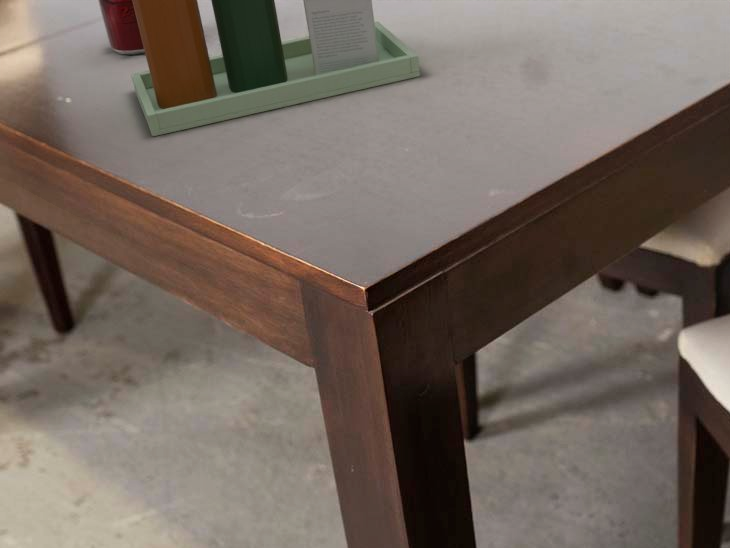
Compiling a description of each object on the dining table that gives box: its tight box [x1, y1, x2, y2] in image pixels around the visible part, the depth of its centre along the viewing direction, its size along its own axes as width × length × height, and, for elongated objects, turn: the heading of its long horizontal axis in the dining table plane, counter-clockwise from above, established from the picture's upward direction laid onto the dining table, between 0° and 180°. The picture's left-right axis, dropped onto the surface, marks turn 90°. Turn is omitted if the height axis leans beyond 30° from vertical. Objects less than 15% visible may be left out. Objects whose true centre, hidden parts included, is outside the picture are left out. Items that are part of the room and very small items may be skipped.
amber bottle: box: [132, 0, 217, 109], centre depth 101 cm, size 6×6×15 cm
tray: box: [130, 21, 421, 137], centre depth 106 cm, size 26×13×2 cm, turn 108°
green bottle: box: [211, 0, 288, 93], centre depth 102 cm, size 6×6×15 cm
